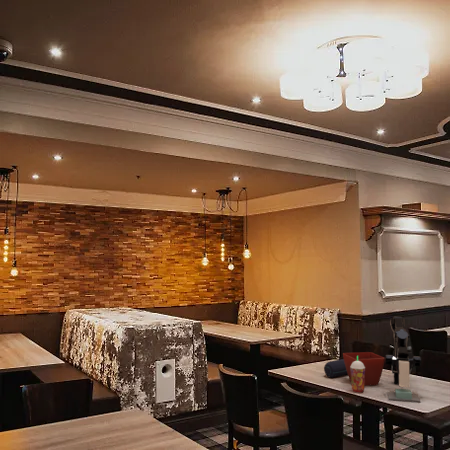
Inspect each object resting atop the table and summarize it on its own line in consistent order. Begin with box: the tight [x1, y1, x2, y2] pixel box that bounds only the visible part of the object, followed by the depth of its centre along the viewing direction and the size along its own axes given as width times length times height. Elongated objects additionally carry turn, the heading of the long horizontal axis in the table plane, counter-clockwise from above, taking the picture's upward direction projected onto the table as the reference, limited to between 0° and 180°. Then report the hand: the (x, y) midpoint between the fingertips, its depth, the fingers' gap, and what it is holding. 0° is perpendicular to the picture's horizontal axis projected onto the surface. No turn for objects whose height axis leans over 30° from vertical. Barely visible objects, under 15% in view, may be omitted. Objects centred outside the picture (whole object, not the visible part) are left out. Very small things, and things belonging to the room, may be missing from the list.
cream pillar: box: [398, 360, 410, 388], centre depth 267 cm, size 5×5×13 cm
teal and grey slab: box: [387, 388, 421, 404], centre depth 268 cm, size 16×14×4 cm
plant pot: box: [342, 351, 385, 387], centre depth 300 cm, size 19×19×17 cm
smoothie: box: [350, 356, 365, 394], centre depth 282 cm, size 8×8×20 cm
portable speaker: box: [323, 358, 348, 379], centre depth 320 cm, size 25×10×10 cm, turn 128°
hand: (404, 373), depth 266 cm, fingers closed on cream pillar, 5 cm apart
